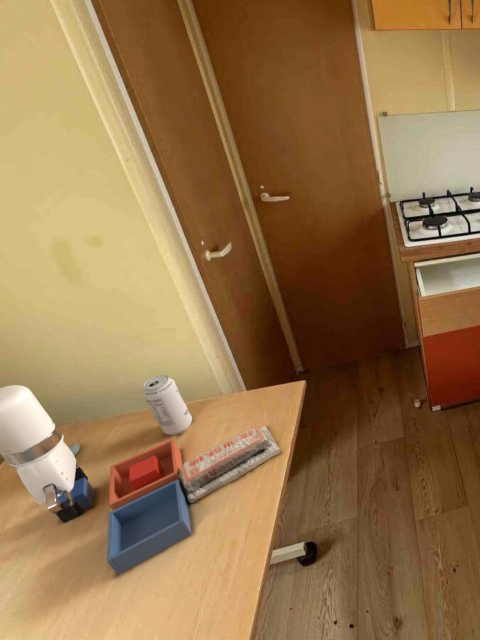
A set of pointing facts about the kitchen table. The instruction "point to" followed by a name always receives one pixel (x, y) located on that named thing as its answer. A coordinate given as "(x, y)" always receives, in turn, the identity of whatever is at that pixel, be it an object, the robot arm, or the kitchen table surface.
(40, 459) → the robot arm
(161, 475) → the red block
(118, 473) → the terracotta bin
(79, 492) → the blue block
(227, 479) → the packaged product
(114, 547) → the blue bin
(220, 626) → the kitchen table surface
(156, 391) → the energy drink can
